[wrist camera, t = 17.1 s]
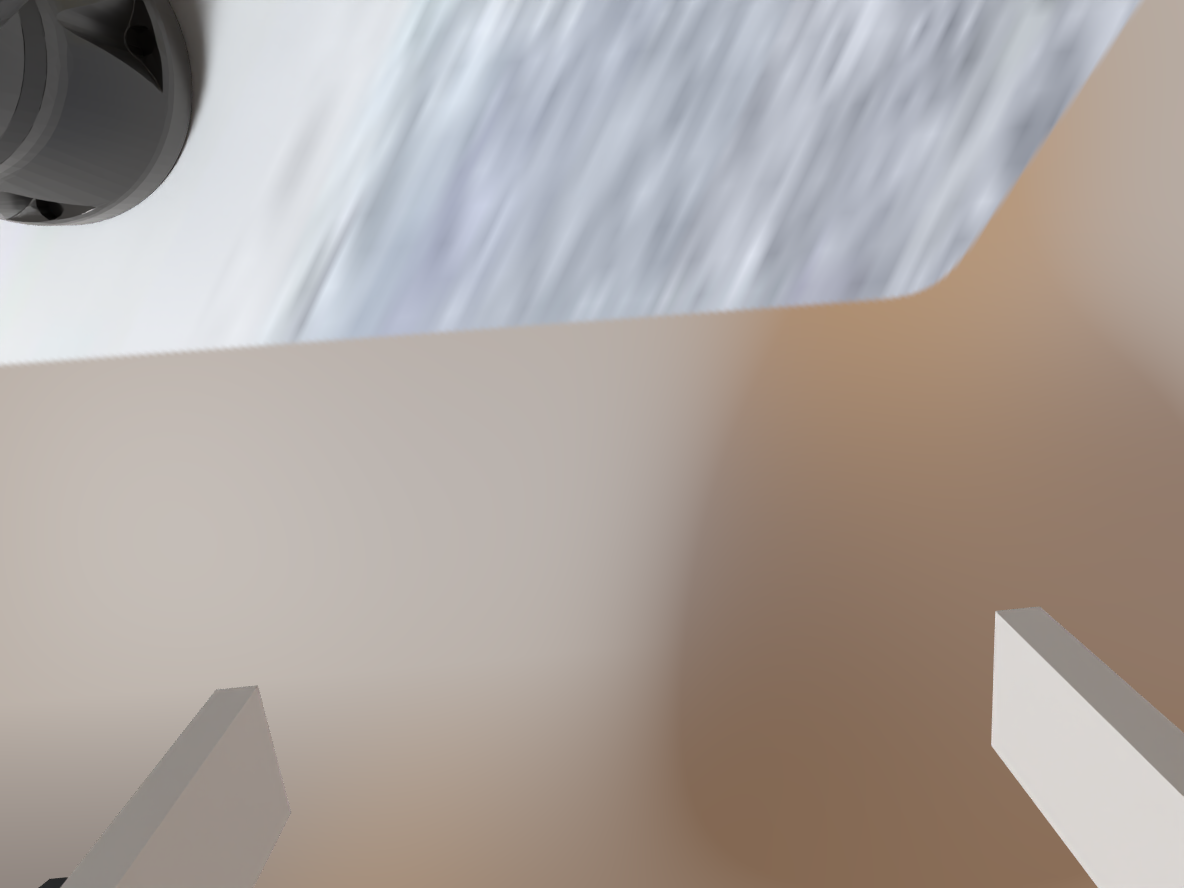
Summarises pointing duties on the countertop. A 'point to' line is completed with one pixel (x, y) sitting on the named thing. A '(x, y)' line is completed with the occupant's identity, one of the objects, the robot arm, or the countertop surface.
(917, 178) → the countertop surface
